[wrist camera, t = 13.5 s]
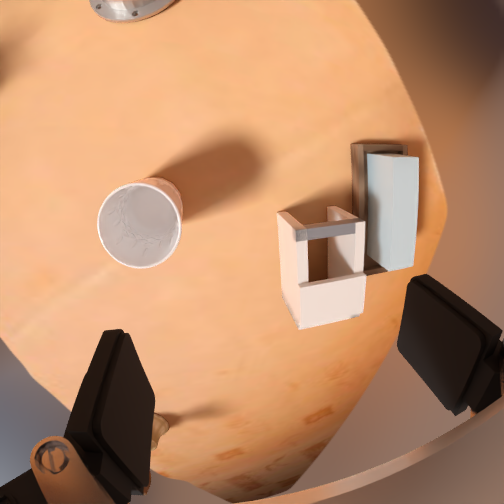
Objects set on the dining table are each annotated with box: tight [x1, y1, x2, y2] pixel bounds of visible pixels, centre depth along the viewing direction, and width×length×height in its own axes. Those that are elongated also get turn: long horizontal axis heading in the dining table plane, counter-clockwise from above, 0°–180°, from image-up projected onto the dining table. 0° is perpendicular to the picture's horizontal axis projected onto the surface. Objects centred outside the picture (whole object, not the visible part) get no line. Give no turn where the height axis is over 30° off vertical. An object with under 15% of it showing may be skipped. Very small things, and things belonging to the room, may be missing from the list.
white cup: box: [97, 177, 183, 268], centre depth 30 cm, size 8×8×10 cm
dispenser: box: [277, 206, 366, 330], centre depth 36 cm, size 12×8×9 cm, turn 5°
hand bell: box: [143, 413, 169, 495], centre depth 40 cm, size 8×8×16 cm
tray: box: [351, 144, 408, 276], centre depth 38 cm, size 18×8×2 cm, turn 5°
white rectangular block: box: [367, 153, 419, 271], centre depth 35 cm, size 14×4×6 cm, turn 6°
